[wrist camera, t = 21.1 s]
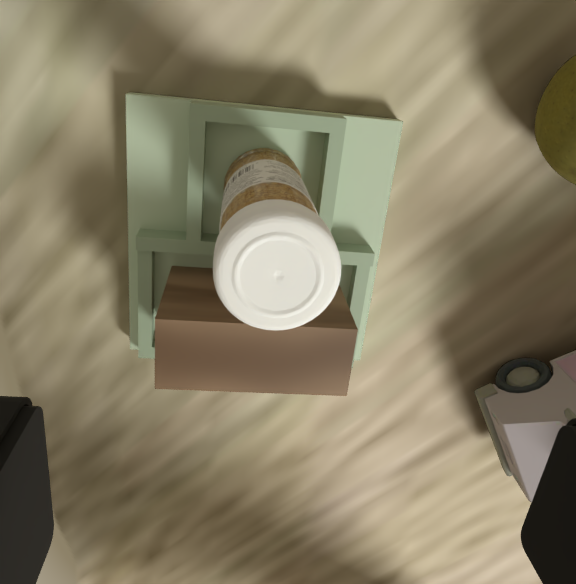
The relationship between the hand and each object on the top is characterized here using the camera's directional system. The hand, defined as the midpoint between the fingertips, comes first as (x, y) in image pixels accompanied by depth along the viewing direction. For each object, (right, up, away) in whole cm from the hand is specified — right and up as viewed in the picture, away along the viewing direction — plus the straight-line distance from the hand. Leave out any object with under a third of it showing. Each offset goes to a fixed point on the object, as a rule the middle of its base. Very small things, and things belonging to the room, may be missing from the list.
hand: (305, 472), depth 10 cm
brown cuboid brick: (-2, +3, +24) cm, 24 cm away
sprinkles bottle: (-2, +9, +21) cm, 23 cm away
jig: (-2, +7, +24) cm, 25 cm away
